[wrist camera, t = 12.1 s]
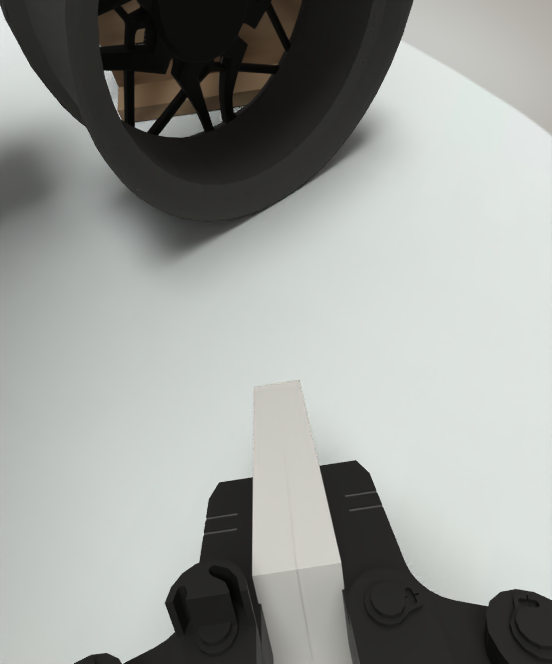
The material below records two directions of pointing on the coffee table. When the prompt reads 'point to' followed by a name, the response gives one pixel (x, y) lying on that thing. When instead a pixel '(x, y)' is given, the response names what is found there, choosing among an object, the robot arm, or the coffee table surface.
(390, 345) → the coffee table surface
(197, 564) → the robot arm
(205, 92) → the stop board
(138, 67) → the wheel rim
